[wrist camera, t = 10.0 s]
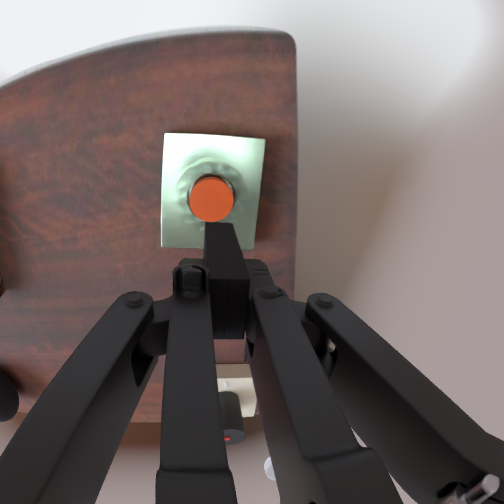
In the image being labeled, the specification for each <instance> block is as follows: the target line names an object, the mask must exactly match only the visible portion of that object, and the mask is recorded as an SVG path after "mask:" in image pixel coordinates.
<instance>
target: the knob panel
mask: <svg viewBox="0 0 504 504" xmlns="http://www.w3.org/2000/svg"><path fill="white" fill-rule="evenodd" d="M216 372H217V381H218V390H219V392H223V391H229V392H233V393H235V394H237V395H238V397H239V401H240V406H241V412H242V417H250V416H254V412H255V407H256V402H257V398H256V393H255V389H254V384H253V380H252V375H251V371H250V366H249V364H216Z"/></svg>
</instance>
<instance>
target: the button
mask: <svg viewBox="0 0 504 504" xmlns="http://www.w3.org/2000/svg"><path fill="white" fill-rule="evenodd" d="M233 200H234V199H233V194H232V191H231V189H230V187H229V185H228V184H227V183H226V182H225V181H224V180H222V179H220V178H218V177H205V178H202V179H201V180H199V181H198V182H197V183H196V184H195V185H194V186H193V188H192V190H191V194H190V207H191V210H192V211H193V213H194V214H195V215H196V216H197V217H198V218H199V219H201V220H203V221H207V222H215V221H219V220H221V219H223V218H225V217H226V216H227V215H228V214H229V213H230V211H231V209H232V207H233Z"/></svg>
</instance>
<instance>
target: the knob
mask: <svg viewBox="0 0 504 504" xmlns="http://www.w3.org/2000/svg"><path fill="white" fill-rule="evenodd" d="M219 399H220V408H221V416H222V424H223V431H224V439H225V445H230V444H236V443H239V442H241V441H243V440H244V439H245V437H246V434H245V428H244V423H243V417H242V412H241V406H240V401H239V397H238V395H237V394H235V393H233V392H229V391H223V392H219Z"/></svg>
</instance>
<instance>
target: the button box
mask: <svg viewBox="0 0 504 504" xmlns="http://www.w3.org/2000/svg"><path fill="white" fill-rule="evenodd" d="M265 142H266V139H263V138H254V137H243V136H231V135H217V134H199V133H164V148H163V167H162V195H161V247H169V248H199V249H204V234H205V222H207V221H203V220H201V219H199V218H198V217H197V216H196V215H195V214H194V213H193V211H192V210H191V207H190V194H191V190H192V188H193V186H194V185H195V184H196V183H197V182H198V181H199V180H201V179H202V178H205V177H218V178H220V179H222V180H224V181H225V182H226V183H227V184H228V185H229V187H230V189H231V191H232V194H233V199H234V200H233V207H232V209H231V211H230V213H229V214H228V215H227V216H226V217H225V218H223V219H221V220H219V221H215V222H223V223H233V226H234V229H235V233H236V236H237V239H238V242H239V245H240V248H241V250H254V241H255V232H256V223H257V214H258V205H259V196H260V187H261V178H262V169H263V160H264V151H265Z"/></svg>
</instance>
